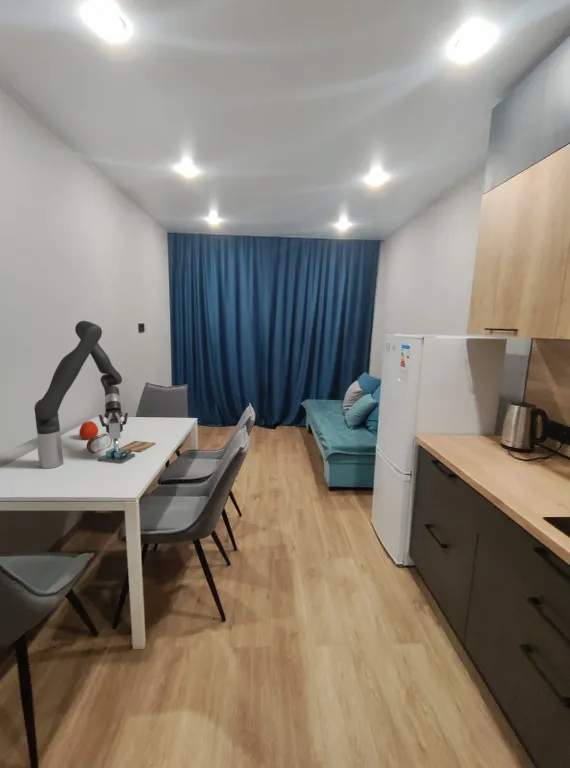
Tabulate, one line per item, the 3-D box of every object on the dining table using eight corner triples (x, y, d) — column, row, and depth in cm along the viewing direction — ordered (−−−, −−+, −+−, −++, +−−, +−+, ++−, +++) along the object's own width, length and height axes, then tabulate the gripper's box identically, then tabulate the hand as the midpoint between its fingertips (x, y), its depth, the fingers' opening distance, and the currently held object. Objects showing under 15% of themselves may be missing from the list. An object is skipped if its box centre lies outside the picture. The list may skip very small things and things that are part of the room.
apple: (97, 439, 211) (96, 422, 209) (78, 441, 207) (76, 424, 206) (99, 434, 220) (98, 418, 219) (81, 436, 217) (79, 420, 215)
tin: (109, 445, 201) (108, 431, 200) (113, 446, 200) (112, 431, 199) (86, 454, 187) (85, 439, 186) (91, 454, 186) (89, 439, 185)
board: (118, 450, 193) (118, 448, 193) (134, 442, 206) (134, 440, 206) (140, 452, 190) (140, 450, 190) (155, 444, 203) (155, 442, 203)
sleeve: (109, 439, 175) (108, 423, 174) (109, 436, 180) (108, 421, 179) (120, 438, 178) (119, 422, 176) (120, 435, 182) (119, 420, 181)
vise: (98, 461, 177) (96, 440, 176) (112, 454, 187) (110, 434, 185) (122, 463, 174) (120, 442, 172) (135, 456, 184) (133, 436, 182)
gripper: (97, 401, 179) (98, 430, 171) (127, 399, 186) (130, 426, 177) (98, 409, 185) (99, 437, 176) (127, 406, 191) (130, 433, 183)
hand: (114, 431), depth 177 cm, fingers closed on sleeve, 5 cm apart
